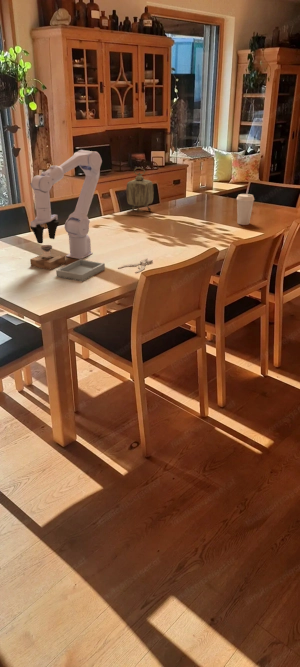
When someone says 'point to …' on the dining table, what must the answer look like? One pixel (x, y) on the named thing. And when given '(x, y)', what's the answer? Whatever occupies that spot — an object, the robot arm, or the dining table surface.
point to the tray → (80, 270)
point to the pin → (47, 251)
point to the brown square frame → (47, 261)
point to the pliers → (142, 263)
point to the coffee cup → (244, 208)
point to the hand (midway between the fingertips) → (46, 240)
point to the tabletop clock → (139, 191)
